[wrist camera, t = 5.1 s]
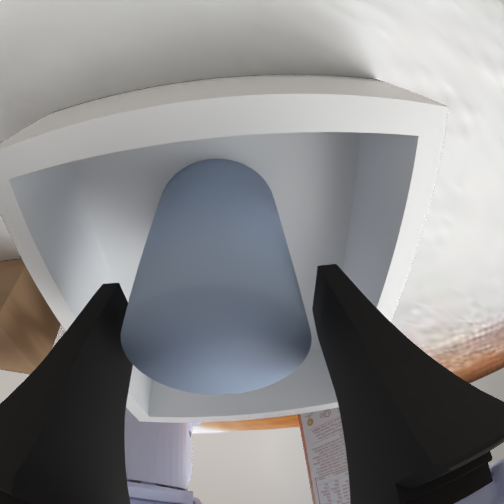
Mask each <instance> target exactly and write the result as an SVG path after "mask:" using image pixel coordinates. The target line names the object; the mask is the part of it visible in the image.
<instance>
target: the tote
mask: <svg viewBox="0 0 504 504" xmlns="http://www.w3.org/2000/svg"><path fill="white" fill-rule="evenodd" d="M448 112H449V107H448V106H445V105H443V104H441V103H438V102H436V101H434V100H431V99H429V98H427V97H424V96H422V95H419V94H417V93H414V92H411V91H409V90H406V89H403V88H401V87H398V86H395V85H392V84H389V83H386V82H383V81H380V80H377V79H368V78H358V77H345V76H328V75H256V76H239V77H226V78H215V79H206V80H197V81H189V82H182V83H175V84H169V85H163V86H157V87H151V88H146V89H141V90H136V91H131V92H126V93H122V94H118V95H113V96H109V97H105V98H101V99H97V100H94V101H90V102H86V103H83V104H79V105H76V106H73V107H69V108H66V109H63V110H60V111H57V112H54V113H51V114H48V115H46V116H45V117H43V118H41V119H39V120H38V121H36V122H34V123H32V124H31V125H29V126H27V127H26V128H24V129H22V130H21V131H19V132H17V133H16V134H14V135H13V136H11V137H10V138H8V139H7V140H5V141H3V142H2V143H0V214H1V216H2V218H3V221H4V223H5V225H6V227H7V230H8V232H9V234H10V236H11V238H12V240H13V242H14V244H15V246H16V248H17V250H18V252H19V254H20V256H21V258H22V260H23V262H24V264H25V266H26V268H27V269H28V271H29V273H30V275H31V277H32V278H33V280H34V282H35V284H36V285H37V287H38V289H39V291H40V292H41V294H42V296H43V297H44V299H45V300H46V302H47V304H48V305H49V307H50V308H51V310H52V312H53V313H54V315H55V316H56V318H57V319H58V321H59V322H60V324H61V325H62V327H63V328H64V330H65V331H67V330H68V328H69V327H70V326H71V324H72V323H73V322H74V320H75V319H76V318H77V316H78V315H79V314H80V312H81V311H82V310H83V309H84V307H85V306H86V305H87V303H88V302H89V301H90V299H91V298H92V297H93V295H94V294H95V293H96V292H97V290H98V289H99V288H100V287H101V286H102V285H103V284H107V283H120V286H121V288H122V290H123V293H124V295H125V297H126V299H127V302H129V298H130V294H131V291H132V287H133V283H134V280H135V276H136V273H137V269H138V266H139V263H140V259H141V256H142V253H143V250H144V246H145V243H146V240H147V237H148V234H149V231H150V228H151V225H152V222H153V219H154V216H155V213H156V210H157V207H158V204H159V201H160V199H161V196H162V193H163V191H164V189H165V187H166V185H167V184H168V182H169V181H170V179H171V178H172V177H173V176H174V175H175V174H176V173H178V172H179V171H180V170H182V169H183V168H185V167H187V166H188V165H190V164H193V163H195V162H199V161H202V160H208V159H227V160H232V161H236V162H239V163H242V164H244V165H246V166H248V167H250V168H252V169H253V170H254V171H256V172H257V173H258V174H259V175H260V176H261V177H262V178H263V179H264V180H265V181H266V183H267V184H268V186H269V188H270V189H271V191H272V194H273V197H274V200H275V204H276V207H277V210H278V214H279V217H280V221H281V224H282V228H283V231H284V235H285V238H286V242H287V245H288V249H289V252H290V256H291V259H292V263H293V267H294V270H295V274H296V278H297V281H298V285H299V289H300V292H301V296H302V300H303V304H304V307H305V311H306V315H307V319H308V323H309V327H310V330H311V338H312V341H311V347H310V350H309V353H308V355H307V357H306V358H305V360H304V361H303V362H302V364H301V365H300V366H299V367H298V368H297V369H296V370H295V371H293V372H292V373H291V374H289V375H288V376H286V377H285V378H283V379H281V380H280V381H278V382H275V383H273V384H271V385H268V386H266V387H263V388H260V389H256V390H253V391H248V392H243V393H236V394H225V395H210V394H198V393H191V392H186V391H182V390H178V389H174V388H171V387H168V386H166V385H163V384H161V383H159V382H157V381H155V380H153V379H151V378H149V377H148V376H146V375H145V374H143V373H142V372H141V371H139V370H138V369H137V368H136V367H135V366H134V365H133V368H132V373H131V379H130V385H129V391H128V397H127V403H126V408H127V409H128V410H129V411H130V412H131V413H132V414H133V415H134V416H135V417H136V418H137V419H138V420H139V421H141V422H172V423H191V422H223V421H239V420H252V419H263V418H272V417H281V416H288V415H296V414H303V413H309V412H315V411H321V410H327V409H332V408H337V407H339V405H338V401H337V397H336V393H335V390H334V387H333V384H332V380H331V377H330V374H329V371H328V368H327V365H326V362H325V359H324V355H323V352H322V349H321V346H320V343H319V340H318V336H317V331H316V327H315V321H314V316H313V311H312V307H313V299H314V291H315V283H316V275H317V266H320V265H330V264H337V265H338V266H339V267H340V268H341V270H342V271H343V272H344V273H345V274H346V275H347V276H348V277H349V279H350V280H351V281H352V282H353V283H354V284H355V285H356V286H357V287H358V289H359V290H360V291H361V292H362V293H363V294H364V295H365V296H366V297H367V298H368V299H369V301H370V302H371V303H372V304H373V305H374V306H375V307H376V308H377V309H378V310H379V311H380V312H381V313H382V314H383V315H384V316H385V317H386V318H387V319H388V320H389V321H390V322H391V320H392V318H393V315H394V313H395V310H396V308H397V305H398V303H399V300H400V297H401V295H402V292H403V289H404V287H405V284H406V281H407V279H408V276H409V273H410V270H411V267H412V264H413V261H414V258H415V255H416V252H417V249H418V246H419V243H420V239H421V236H422V233H423V229H424V226H425V222H426V219H427V215H428V211H429V208H430V204H431V200H432V196H433V192H434V187H435V183H436V179H437V174H438V170H439V165H440V160H441V155H442V149H443V144H444V138H445V132H446V126H447V119H448Z"/></svg>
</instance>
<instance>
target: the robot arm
mask: <svg viewBox="0 0 504 504" xmlns="http://www.w3.org/2000/svg"><path fill="white" fill-rule="evenodd" d="M127 306H128V302H127V299H126V297H125V295H124V293H123V290H122V288H121V286H120V283H107V284H103V285H102V286H101V287H100V288H99V289H98V290H97V292H96V293H95V294H94V295H93V297H92V298H91V299H90V301H89V302H88V303H87V305H86V306H85V307H84V309H83V310H82V311H81V312H80V314H79V315H78V316H77V318H76V319H75V320H74V322H73V323H72V324H71V326H70V327H69V328H68V330H67V331H66V332H65V333H64V335H63V336H62V337H61V338H60V340H59V341H58V342H57V343H56V345H55V346H54V347H53V349H52V350H51V351H50V352H49V354H48V355H47V356H46V357H45V358H44V360H43V361H42V362H41V363H40V364H39V365H38V367H37V368H36V369H35V370H34V371H33V372H32V373H31V374H30V375H29V377H27V379H26V380H25V381H24V382H23V383H22V384H21V385H20V386H18V387H17V388H16V390H14V391H13V392H12V393H11V394H10V395H9V396H8V398H6V399H5V400H4V401H3V402H2V403H1V404H0V504H202V503H201V501H200V500H199V499H198V498H193V491H188V490H187V484H188V483H189V481H190V479H191V476H192V426H193V425H201V422H191V423H172V422H141V421H139V420H138V419H137V418H136V417H135V416H134V415H133V414H132V413H131V412H130V411H129V410H128V409H127V408H126V403H127V397H128V391H129V385H130V379H131V373H132V368H133V364H132V363H131V362H130V361H129V359H128V358H127V356H126V355H125V352H124V350H123V348H122V344H121V330H122V325H123V321H124V317H125V313H126V309H127ZM312 311H313V316H314V321H315V327H316V331H317V336H318V340H319V343H320V346H321V349H322V352H323V355H324V359H325V362H326V365H327V368H328V371H329V374H330V377H331V380H332V384H333V387H334V390H335V393H336V397H337V401H338V405H339V411H340V416H341V422H342V428H343V434H344V441H345V447H346V455H347V464H348V473H349V486H350V504H504V458H503V459H501V460H498V461H497V462H495V463H493V464H491V465H490V466H489V465H488V462H489V461H491V460H492V456H491V453H490V450H492V449H494V448H495V447H497V446H498V445H500V444H501V443H503V442H504V402H503V401H501V400H499V399H497V398H495V397H493V396H491V395H489V394H487V393H485V392H483V391H481V390H479V389H477V388H476V387H474V386H472V385H471V384H469V383H467V382H466V381H464V380H462V379H461V378H459V377H458V376H456V375H455V374H453V373H452V372H451V371H449V370H448V369H446V368H445V367H443V366H442V365H441V364H439V363H438V362H436V361H435V360H434V359H432V358H431V357H430V356H428V355H427V354H426V353H425V352H423V351H422V350H421V349H420V348H419V347H417V346H416V345H415V344H414V343H413V342H411V341H410V340H409V339H408V338H407V337H406V336H405V335H404V334H403V333H401V332H400V331H399V330H398V329H397V328H396V327H395V326H394V325H393V324H392V323H391V322H390V321H389V320H388V319H387V318H386V317H385V316H384V315H383V314H382V313H381V312H380V311H379V310H378V309H377V308H376V307H375V306H374V305H373V304H372V303H371V302H370V301H369V299H368V298H367V297H366V296H365V295H364V294H363V293H362V292H361V291H360V290H359V289H358V287H357V286H356V285H355V284H354V283H353V282H352V281H351V280H350V279H349V277H348V276H347V275H346V274H345V273H344V272H343V271H342V270H341V268H340V267H339V266H338V265H337V264H330V265H320V266H317V275H316V283H315V291H314V299H313V307H312Z"/></svg>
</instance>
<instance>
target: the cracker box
mask: <svg viewBox="0 0 504 504" xmlns="http://www.w3.org/2000/svg"><path fill="white" fill-rule="evenodd" d="M298 419H299V424H300V430H301V436H302V441H303V447H304V453H305V459H306V464H307V471H308V477H309V482H310V488H311V494H312V501H313V504H350V486H349V473H348V464H347V455H346V447H345V441H344V434H343V428H342V422H341V416H340V411H339V407H337V408H332V409H327V410H321V411H315V412H309V413H303V414H298Z"/></svg>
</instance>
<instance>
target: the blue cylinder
mask: <svg viewBox="0 0 504 504" xmlns="http://www.w3.org/2000/svg"><path fill="white" fill-rule="evenodd" d="M311 341H312V338H311V330H310V327H309V323H308V319H307V315H306V311H305V307H304V304H303V300H302V296H301V292H300V289H299V285H298V281H297V278H296V274H295V270H294V267H293V263H292V259H291V256H290V252H289V249H288V245H287V242H286V238H285V235H284V231H283V228H282V224H281V221H280V217H279V214H278V210H277V207H276V204H275V200H274V197H273V194H272V191H271V189H270V188H269V186H268V184H267V183H266V181H265V180H264V179H263V178H262V177H261V176H260V175H259V174H258V173H257V172H256V171H254V170H253V169H252V168H250V167H248V166H246V165H244V164H242V163H239V162H236V161H232V160H227V159H208V160H202V161H199V162H195V163H193V164H190V165H188V166H187V167H185V168H183V169H182V170H180V171H179V172H178V173H176V174H175V175H174V176H173V177H172V178H171V179H170V181H169V182H168V184H167V185H166V187H165V189H164V191H163V193H162V196H161V199H160V201H159V204H158V207H157V210H156V213H155V216H154V219H153V222H152V225H151V228H150V231H149V234H148V237H147V240H146V243H145V246H144V250H143V253H142V256H141V259H140V263H139V266H138V269H137V273H136V276H135V280H134V283H133V287H132V291H131V294H130V298H129V302H128V306H127V309H126V313H125V317H124V321H123V325H122V330H121V344H122V348H123V350H124V352H125V355H126V356H127V358H128V359H129V361H130V362H131V363H132V364H133V365H134V366H135V367H136V368H137V369H138V370H139V371H141V372H142V373H143V374H145V375H146V376H148V377H149V378H151V379H153V380H155V381H157V382H159V383H161V384H163V385H166V386H168V387H171V388H174V389H178V390H182V391H186V392H191V393H198V394H210V395H225V394H236V393H243V392H248V391H253V390H256V389H260V388H263V387H266V386H268V385H271V384H273V383H275V382H278V381H280V380H281V379H283V378H285V377H286V376H288V375H289V374H291V373H292V372H293V371H295V370H296V369H297V368H298V367H299V366H300V365H301V364H302V362H303V361H304V360H305V358H306V357H307V355H308V353H309V350H310V347H311Z"/></svg>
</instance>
